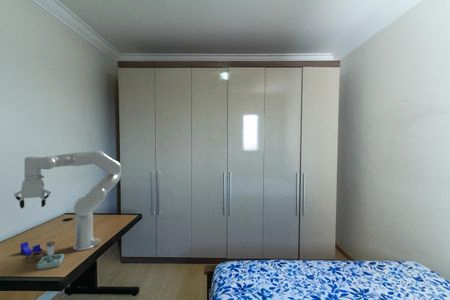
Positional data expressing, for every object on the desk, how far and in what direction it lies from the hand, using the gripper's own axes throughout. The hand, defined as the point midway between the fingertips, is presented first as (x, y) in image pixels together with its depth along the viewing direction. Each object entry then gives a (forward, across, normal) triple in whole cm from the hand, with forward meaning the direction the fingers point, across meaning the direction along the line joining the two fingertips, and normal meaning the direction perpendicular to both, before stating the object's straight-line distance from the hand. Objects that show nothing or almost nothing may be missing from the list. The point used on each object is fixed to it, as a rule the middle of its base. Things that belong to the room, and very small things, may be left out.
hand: (32, 207), depth 138 cm
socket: (+28, -4, +6) cm, 29 cm away
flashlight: (+28, -12, +16) cm, 34 cm away
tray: (+28, -12, +16) cm, 35 cm away
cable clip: (+29, +1, -2) cm, 29 cm away
